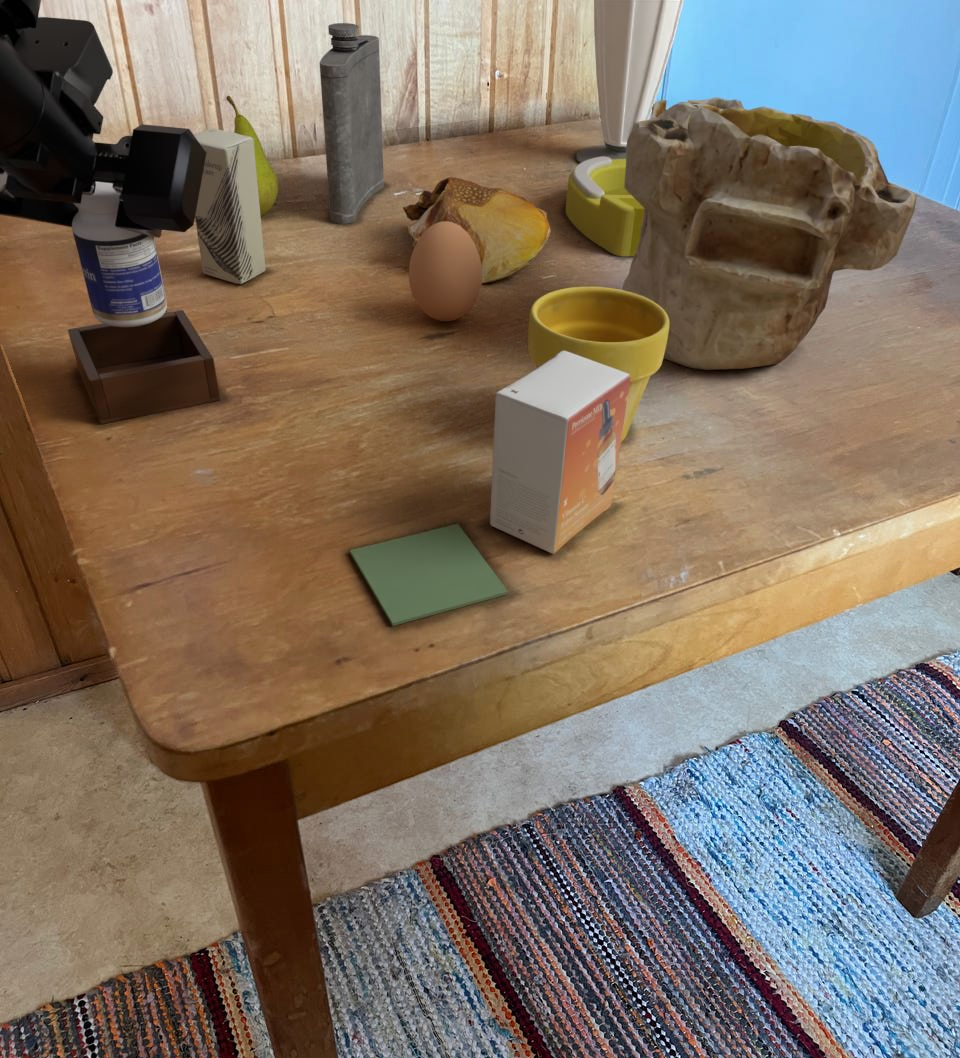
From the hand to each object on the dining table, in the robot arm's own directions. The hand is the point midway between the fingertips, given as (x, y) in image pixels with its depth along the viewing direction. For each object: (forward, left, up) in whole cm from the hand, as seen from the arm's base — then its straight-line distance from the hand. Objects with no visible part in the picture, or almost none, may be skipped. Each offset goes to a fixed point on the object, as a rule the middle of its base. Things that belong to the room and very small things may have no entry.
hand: (122, 227), depth 75 cm
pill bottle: (0, -1, -6) cm, 7 cm away
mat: (+23, -27, -13) cm, 37 cm away
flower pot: (+36, -8, -13) cm, 39 cm away
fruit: (+4, +38, -13) cm, 40 cm away
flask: (+15, +43, -13) cm, 47 cm away
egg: (+25, +12, -13) cm, 30 cm away
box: (+4, +22, -13) cm, 26 cm away
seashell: (+28, +28, -13) cm, 41 cm away
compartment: (0, -1, -13) cm, 13 cm away
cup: (+49, +60, -13) cm, 78 cm away
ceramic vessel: (+52, +7, -13) cm, 54 cm away
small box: (+32, -20, -13) cm, 40 cm away
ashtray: (+48, +38, -13) cm, 62 cm away
